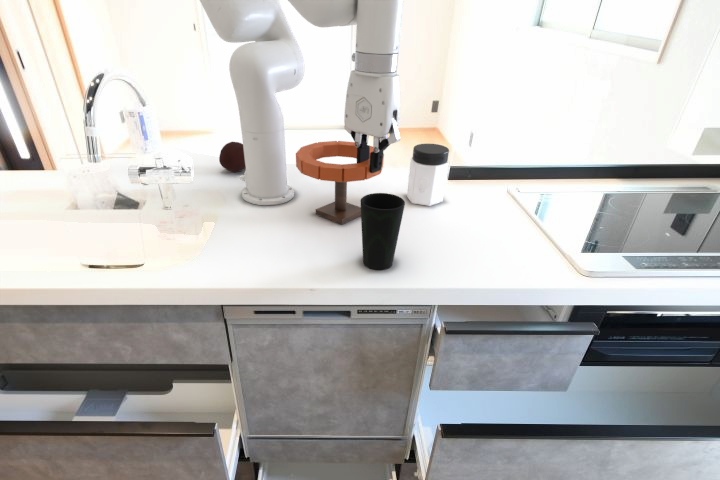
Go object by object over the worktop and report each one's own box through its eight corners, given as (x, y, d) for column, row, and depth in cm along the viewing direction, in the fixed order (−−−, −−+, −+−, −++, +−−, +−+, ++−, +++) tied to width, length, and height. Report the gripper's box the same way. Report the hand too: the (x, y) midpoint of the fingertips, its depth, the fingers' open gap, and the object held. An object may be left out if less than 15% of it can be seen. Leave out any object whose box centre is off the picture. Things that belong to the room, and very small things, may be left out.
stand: (315, 214, 101) (314, 180, 96) (338, 204, 106) (339, 171, 101) (342, 224, 97) (342, 189, 92) (365, 213, 102) (366, 180, 97)
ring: (279, 166, 94) (278, 153, 92) (336, 148, 104) (336, 136, 103) (344, 188, 85) (344, 175, 83) (399, 166, 95) (400, 154, 94)
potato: (259, 171, 123) (256, 142, 119) (230, 179, 118) (226, 148, 113) (242, 164, 128) (239, 135, 123) (214, 171, 123) (209, 142, 118)
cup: (395, 275, 80) (402, 211, 73) (354, 270, 81) (357, 207, 74) (399, 255, 86) (406, 194, 79) (361, 251, 87) (364, 191, 80)
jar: (402, 202, 107) (407, 150, 100) (410, 191, 113) (416, 141, 106) (439, 208, 105) (447, 155, 97) (445, 196, 111) (454, 146, 103)
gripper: (328, 60, 80) (326, 164, 92) (401, 72, 72) (390, 184, 84) (354, 56, 85) (350, 156, 96) (426, 67, 77) (412, 174, 88)
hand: (368, 168), depth 90 cm, fingers closed on ring, 2 cm apart
